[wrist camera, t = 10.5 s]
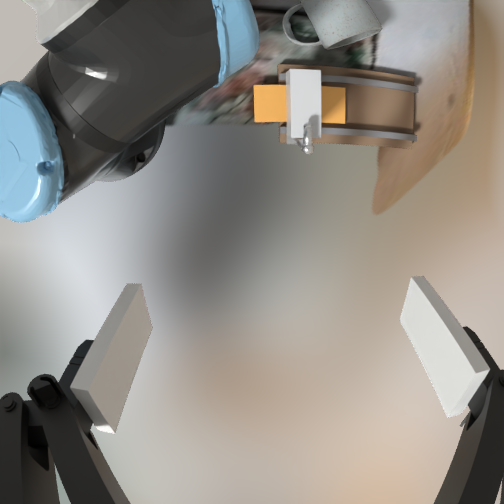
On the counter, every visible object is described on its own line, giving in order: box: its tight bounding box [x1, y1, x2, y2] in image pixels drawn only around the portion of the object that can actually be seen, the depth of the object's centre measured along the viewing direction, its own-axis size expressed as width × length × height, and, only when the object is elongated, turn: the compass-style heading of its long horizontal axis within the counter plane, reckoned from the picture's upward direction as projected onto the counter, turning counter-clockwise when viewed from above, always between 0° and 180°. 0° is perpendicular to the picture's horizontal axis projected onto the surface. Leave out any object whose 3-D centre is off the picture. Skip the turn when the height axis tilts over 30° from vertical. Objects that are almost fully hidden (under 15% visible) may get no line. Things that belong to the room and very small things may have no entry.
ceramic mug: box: [282, 0, 382, 50], centre depth 28 cm, size 11×8×8 cm
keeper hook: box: [286, 122, 314, 154], centre depth 32 cm, size 2×3×10 cm
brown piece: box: [277, 64, 418, 149], centre depth 35 cm, size 18×10×3 cm, turn 92°
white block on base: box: [254, 69, 345, 138], centre depth 31 cm, size 11×7×8 cm, turn 92°
